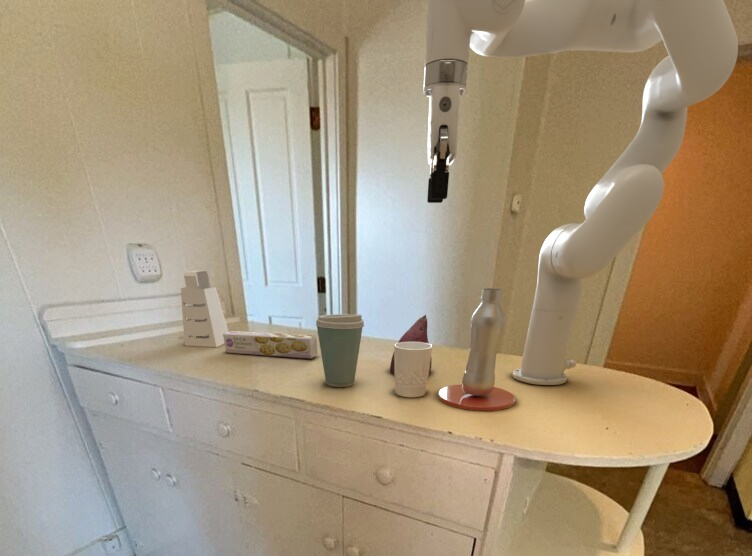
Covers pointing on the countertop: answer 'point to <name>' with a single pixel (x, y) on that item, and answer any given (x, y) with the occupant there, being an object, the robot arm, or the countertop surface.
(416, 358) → the white cup
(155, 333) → the countertop surface
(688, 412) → the countertop surface
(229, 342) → the box
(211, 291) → the grater
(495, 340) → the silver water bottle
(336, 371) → the disposable coffee cup
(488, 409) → the plate
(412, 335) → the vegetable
